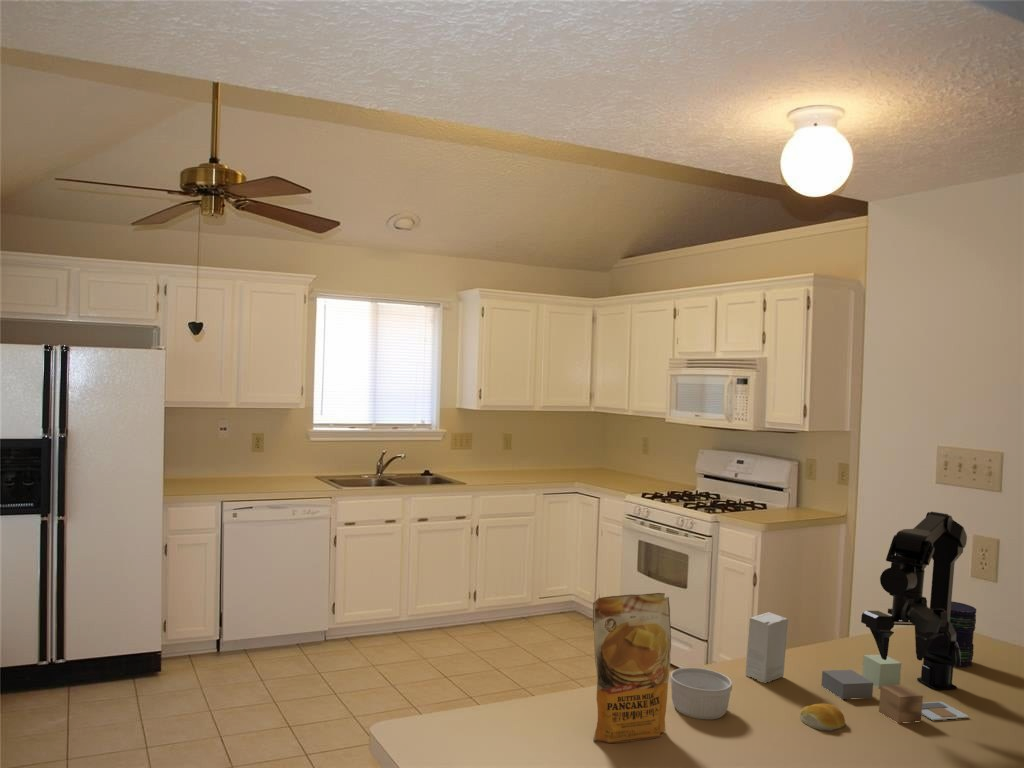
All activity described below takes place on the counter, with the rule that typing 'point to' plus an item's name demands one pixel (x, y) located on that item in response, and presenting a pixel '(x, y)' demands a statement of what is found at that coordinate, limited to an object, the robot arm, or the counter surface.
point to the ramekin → (700, 692)
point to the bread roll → (822, 717)
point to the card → (941, 711)
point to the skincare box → (766, 647)
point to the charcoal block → (847, 684)
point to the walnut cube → (900, 703)
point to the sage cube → (881, 670)
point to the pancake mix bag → (631, 666)
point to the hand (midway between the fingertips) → (901, 659)
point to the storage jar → (964, 630)
